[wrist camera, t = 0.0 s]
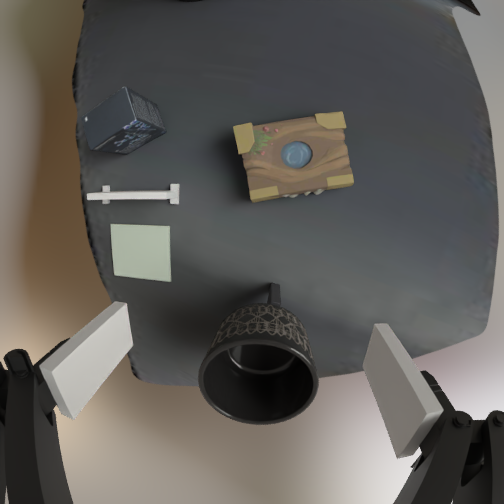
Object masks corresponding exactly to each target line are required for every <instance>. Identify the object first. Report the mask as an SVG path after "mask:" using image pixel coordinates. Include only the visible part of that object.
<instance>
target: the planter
mask: <svg viewBox="0 0 504 504" xmlns="http://www.w3.org/2000/svg"><path fill="white" fill-rule="evenodd" d="M280 305H281V298H280V285H278V284H275V283H271V286H270V289H269V296H268V301H267V304H266V303H257V304H250V305H246V306H243V307H241V308H239V309H237V310H235V311H233V312H232V313H231V314H230V315H228V316H227V317H226V318H225V320H224V321H223V322H222V324H221V326H220V327H219V329H218V331H217V333H216V335H215V337H214V339H213V341H212V344H211V346H210V348H209V350H208V352H207V354H206V356H205V358H204V360H203V362H202V364H201V366H200V369H199V374H198V384H199V388H200V391H201V393H202V395H203V397H204V398H205V400H206V401H207V402H208V404H209V405H210V406H212V407H213V408H214V409H215V410H216V411H218V412H219V413H220V414H222V415H224V416H226V417H228V418H230V419H232V420H235V421H238V422H242V423H247V424H255V425H268V424H275V423H280V422H284V421H286V420H289V419H291V418H293V417H295V416H297V415H299V414H300V413H302V412H303V411H304V410H305V409H306V408H308V407H309V406H310V404H311V403H312V402H313V400H314V398H315V396H316V394H317V391H318V386H319V379H318V374H317V370H316V366H315V362H314V358H313V355H312V351H311V347H310V343H309V340H308V336H307V333H306V330H305V328H304V326H303V324H302V323H301V321H300V320H299V319H298V318H297V317H296V316H295V315H294V314H293V313H291V312H290V311H288V310H286V309H285V308H282V307H280Z"/></svg>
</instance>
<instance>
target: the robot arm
mask: <svg viewBox="0 0 504 504" xmlns="http://www.w3.org/2000/svg"><path fill="white" fill-rule="evenodd" d="M180 1H200V0H180ZM132 346H133V341H132V335H131V329H130V323H129V316H128V310H127V303H122V302H117V301H115V302H114V303H113V304H111V305H110V306H109V307H108V308H106V309H105V310H104V311H103V312H101V313H100V314H99V315H98V316H97V317H96V318H94V319H93V320H92V321H91V322H89V323H88V324H87V325H86V326H85V327H83V328H82V329H81V330H80V331H79V332H77V333H76V334H75V335H74V336H73V337H72V338H68V339H66V340H64V341H61V342H60V343H59V344H58V345H57V346H55V348H53V349H52V350H51V351H50V352H49V353H47V354H46V355H45V356H44V357H42V358H41V359H40V360H39V361H38V362H37V363H36V364H34V366H33V365H32V362H31V360H30V357H29V355H28V353H27V352H26V350H23V349H15V350H12V351H10V352H8V353H7V354H6V355H5V356H4V361H5V364H6V366H7V368H8V370H5V369H4V368H3V365H2V363H1V362H0V504H5V493H6V485H7V493H8V500H9V504H73V501H72V498H71V494H70V491H69V487H68V483H67V479H66V475H65V471H64V466H63V462H62V456H61V451H60V445H59V439H58V432H57V424H56V415H55V412H54V410H53V409H54V407H55V406H56V405H57V406H58V408H59V410H60V412H61V414H63V415H65V416H67V417H69V418H71V419H73V420H74V419H75V418H76V417H77V415H78V414H79V413H80V411H81V410H82V409H83V407H84V406H85V405H86V404H87V402H88V401H89V400H90V399H91V397H92V396H93V395H94V393H95V392H96V391H97V390H98V388H99V387H100V386H101V384H102V383H103V382H104V381H105V380H106V378H107V377H108V376H109V375H110V373H111V372H112V371H113V370H114V368H115V367H116V366H117V365H118V363H119V362H120V361H121V360H122V358H123V357H124V356H125V355H126V354H127V352H128V351H129V350H130V349H131V347H132ZM363 369H364V371H365V374H366V376H367V379H368V381H369V384H370V386H371V389H372V391H373V394H374V396H375V399H376V401H377V404H378V407H379V409H380V412H381V415H382V417H383V420H384V423H385V426H386V428H387V431H388V434H389V437H390V440H391V442H392V445H393V448H394V451H395V454H396V457H397V458H402V457H407V456H411V455H413V454H414V453H415V451H416V450H417V449H418V448H419V447H420V449H421V451H422V453H421V455H420V456H419V457H418V459H417V460H416V461H415V462H414V463H413V465H412V466H411V467H412V468H413V467H414V468H413V470H412V472H411V474H410V476H409V477H408V479H407V481H406V483H405V485H404V487H403V488H402V490H401V492H400V494H399V495H398V497H397V499H396V500H395V502H394V503H393V504H451V502H452V500H453V503H452V504H504V412H502V411H498V410H496V411H492V412H491V413H490V414H489V415H488V417H487V418H486V420H473V419H472V417H471V416H470V415H469V414H467V413H465V412H463V411H455V409H454V407H453V406H452V404H451V403H450V401H449V399H448V398H447V396H446V395H445V393H444V392H443V391H442V389H441V387H440V386H439V385H438V383H437V381H436V380H435V378H434V377H433V376H432V375H431V374H429V373H428V372H427V371H419V369H418V368H417V366H416V365H415V363H414V362H413V360H412V359H411V357H410V356H409V354H408V353H407V351H406V350H405V348H404V347H403V345H402V344H401V342H400V341H399V340H398V338H397V337H396V335H395V334H394V332H393V331H392V330H391V328H390V327H389V325H388V324H374V328H373V331H372V335H371V339H370V342H369V346H368V349H367V353H366V356H365V359H364V363H363Z"/></svg>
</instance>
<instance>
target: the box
mask: <svg viewBox="0 0 504 504" xmlns="http://www.w3.org/2000/svg"><path fill="white" fill-rule="evenodd" d="M81 120H82V123H83V127H84V131H85V135H86V138H87V142H88V145H89V148H90V150H94V151H102V152H111V153H119V154H126V155H127V154H129V153H130V152H132V151H134V150H136V149H137V148H139V147H141V146H142V145H144V144H146V143H148V142H150V141H151V140H153V139H155V138H157V137H159V136H161V135H163V134H165V133H166V129H165V126H164V124H163V121H162V118H161V115H160V112H159V110H158V107H157V105H156V104H155V103H153V102H151V101H150V100H148V99H146V98H145V97H143V96H142V95H140V94H138V93H136V92H135V91H133V90H132V89H130V88H128V87H126V86H124V87H123V88H122V89H120V90H119V91H117V92H116V93H115V94H113V95H112V96H110V97H109V98H107V99H106V100H105V101H103V102H102V103H100V104H99V105H98V106H96V107H95V108H93V109H92V110H91V111H89V112H88V113H87V114H85V115H84V116H82V118H81Z"/></svg>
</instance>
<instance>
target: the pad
mask: <svg viewBox="0 0 504 504" xmlns="http://www.w3.org/2000/svg"><path fill="white" fill-rule="evenodd" d="M111 241H112V255H113V266H114V275H118V276H125V277H133V278H142V279H150V280H159V281H168V282H171V265H170V226H157V225H132V224H111Z"/></svg>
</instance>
